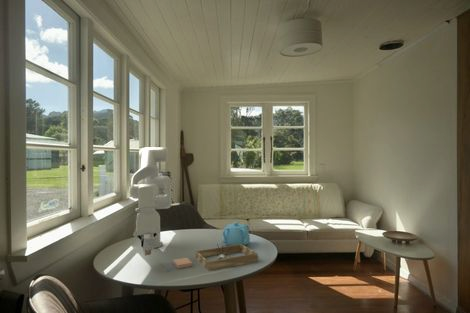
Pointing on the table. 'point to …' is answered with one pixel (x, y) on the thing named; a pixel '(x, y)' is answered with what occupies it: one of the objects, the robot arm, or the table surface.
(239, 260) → the wooden frame
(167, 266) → the mat
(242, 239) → the decorative pot
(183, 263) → the tile
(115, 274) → the table surface
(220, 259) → the reed diffuser
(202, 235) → the table surface
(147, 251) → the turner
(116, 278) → the table surface
